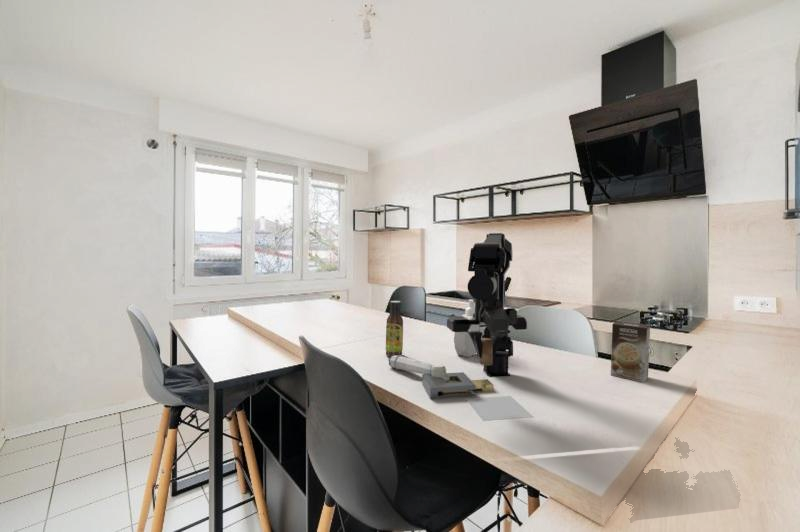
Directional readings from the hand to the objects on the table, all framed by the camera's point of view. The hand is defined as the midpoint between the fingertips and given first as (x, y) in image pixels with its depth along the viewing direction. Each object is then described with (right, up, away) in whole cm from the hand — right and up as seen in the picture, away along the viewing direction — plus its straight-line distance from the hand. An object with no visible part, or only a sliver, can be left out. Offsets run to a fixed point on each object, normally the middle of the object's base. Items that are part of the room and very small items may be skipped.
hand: (486, 357), depth 88 cm
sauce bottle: (-23, -10, +43) cm, 50 cm away
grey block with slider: (-5, -11, +9) cm, 15 cm away
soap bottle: (+5, -10, +46) cm, 47 cm away
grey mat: (+2, -12, -2) cm, 12 cm away
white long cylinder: (-16, -11, +20) cm, 28 cm away
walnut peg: (0, -2, 0) cm, 2 cm away
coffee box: (+48, -11, +21) cm, 54 cm away
